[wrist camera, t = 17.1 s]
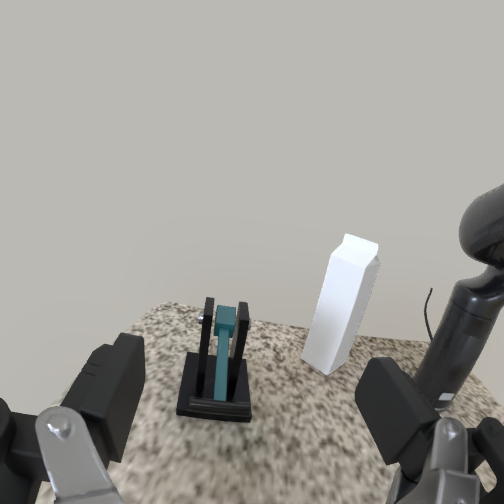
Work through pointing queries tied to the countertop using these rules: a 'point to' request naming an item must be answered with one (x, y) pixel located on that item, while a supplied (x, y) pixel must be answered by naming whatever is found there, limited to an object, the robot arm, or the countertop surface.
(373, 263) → the milk
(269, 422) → the countertop surface
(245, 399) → the bracket
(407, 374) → the robot arm
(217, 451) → the countertop surface
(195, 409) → the lever
